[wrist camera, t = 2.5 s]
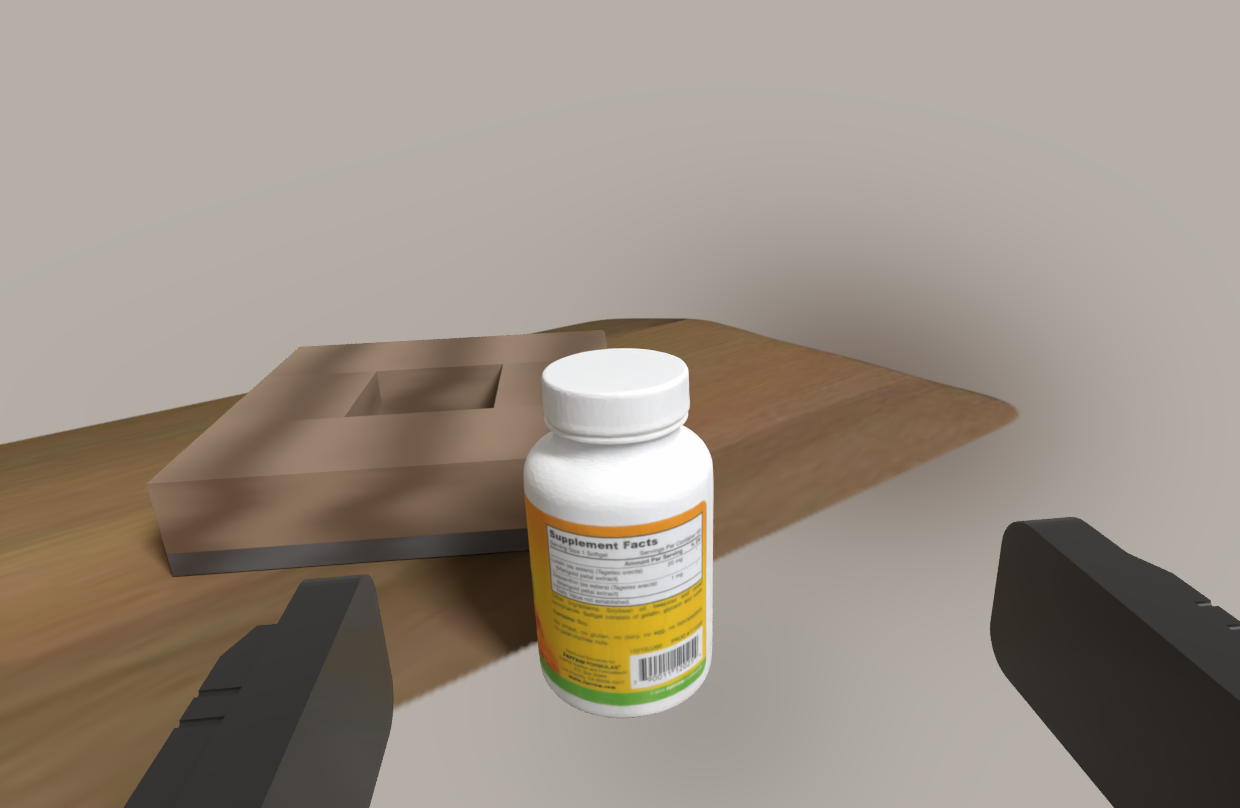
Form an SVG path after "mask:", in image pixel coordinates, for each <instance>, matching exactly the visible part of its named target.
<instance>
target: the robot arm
mask: <svg viewBox="0 0 1240 808" xmlns="http://www.w3.org/2000/svg"><path fill="white" fill-rule="evenodd" d="M990 635H991V641H992V647H993V651H994V654H995V657H996V660H997V662H998V664H999V666H1000V668H1001V670H1002V671H1003V673H1004V674H1005V676H1006V677H1007V678H1008V680H1009V681H1010V682H1011V683H1012V685H1013V686H1014V687H1015V688H1016V689H1017V691H1018V692H1019V693H1020V694H1021V695H1022V697H1023V698H1024V699H1025V700H1026V701H1027V702H1028V704H1029V705H1030V706H1031V708H1032V709H1033V710H1034V711H1035V712H1036V714H1037V715H1038V716H1039V717H1040V718H1041V720H1042V721H1043V722H1044V723H1045V724H1046V726H1047V727H1048V728H1049V729H1050V730H1051V732H1052V733H1053V734H1054V735H1055V736H1056V738H1057V739H1058V740H1059V741H1060V743H1061V744H1062V745H1063V746H1064V748H1065V749H1066V750H1067V751H1068V752H1069V754H1070V755H1071V756H1072V757H1073V758H1074V760H1075V761H1076V762H1077V763H1078V764H1079V766H1080V767H1081V768H1082V769H1083V770H1084V772H1085V773H1086V774H1087V775H1088V776H1089V778H1090V779H1091V780H1092V781H1093V783H1094V784H1095V785H1096V786H1097V787H1098V789H1099V790H1100V791H1101V792H1102V794H1103V795H1104V796H1105V797H1106V798H1107V799H1108V801H1109V802H1110V803H1111V804H1112V806H1113V807H1114V808H1240V621H1239V620H1237V619H1236V618H1234V617H1233V616H1232V615H1230V614H1229V613H1227V612H1226V611H1225V610H1223V609H1222V608H1220V607H1219V606H1212V605H1211V601H1210V600H1209V599H1208V598H1206V597H1205V596H1204V595H1202V594H1200V593H1199V592H1198V591H1197V590H1195V589H1194V588H1192V587H1191V586H1190V585H1188V584H1187V583H1185V582H1184V581H1183V580H1181V579H1180V578H1178V577H1177V576H1176V575H1174V574H1173V573H1170V572H1168V571H1166V570H1164V569H1161V568H1160V567H1157V566H1155V565H1153V564H1151V563H1148V562H1146V561H1144V560H1142V559H1139V558H1137V557H1135V556H1133V555H1131V554H1128V553H1127V552H1125V551H1124V550H1123V549H1121V548H1119V547H1118V546H1117V545H1116V544H1114V543H1113V542H1112V541H1110V540H1109V539H1108V538H1106V537H1105V536H1104V535H1102V534H1101V533H1099V532H1098V531H1097V530H1095V529H1094V528H1093V527H1091V526H1090V525H1089V524H1087V523H1086V522H1084V521H1083V520H1081V519H1078V518H1075V517H1066V518H1053V519H1042V520H1030V521H1018V522H1013V523H1012V524H1010V525H1009V526H1008V527H1007V529H1006V530H1005V532H1004V535H1003V539H1002V545H1001V552H1000V559H999V566H998V573H997V581H996V587H995V594H994V602H993V608H992V615H991V623H990ZM392 717H393V682H392V675H391V669H390V664H389V658H388V653H387V648H386V642H385V637H384V631H383V626H382V621H381V615H380V610H379V604H378V599H377V594H376V589H375V586H374V583H373V580H372V578H371V577H370V576H369V575H366V574H365V575H353V576H342V577H330V578H318V579H306V580H304V581H303V582H301V584H300V585H299V587H298V588H297V590H296V592H295V594H294V595H293V597H292V599H291V601H290V602H289V604H288V606H287V608H286V610H285V611H284V613H283V615H282V617H281V618H280V620H279V622H278V624H272V625H260V626H256V627H255V628H254V629H253V630H252V631H250V632H249V633H248V634H247V635H246V636H244V637H243V638H242V639H241V640H240V641H238V642H237V643H236V644H235V645H234V646H232V647H231V648H230V649H229V650H227V651H226V652H225V653H224V654H223V655H221V656H220V658H219V660H218V661H217V663H216V664H215V666H214V667H213V669H212V670H211V672H210V674H209V675H208V677H207V678H206V680H205V681H204V683H203V685H202V686H201V688H200V689H199V696H198V697H197V698H194V699H193V700H192V702H191V703H190V705H189V706H188V708H187V710H186V711H185V713H184V714H183V716H182V717H181V719H180V726H179V728H174V730H173V731H172V733H171V735H170V736H169V738H168V739H167V741H166V742H165V744H164V745H163V747H162V749H161V750H160V752H159V753H158V755H157V756H156V758H155V759H154V761H153V763H152V764H151V766H150V767H149V769H148V770H147V772H146V774H145V775H144V777H143V778H142V780H141V781H140V783H139V784H138V786H137V788H136V789H135V791H134V792H133V794H132V795H131V797H130V799H129V800H128V802H127V803H126V805H125V806H124V808H369V806H370V803H371V799H372V795H373V792H374V788H375V785H376V781H377V777H378V774H379V770H380V767H381V763H382V759H383V756H384V752H385V749H386V745H387V741H388V738H389V734H390V730H391V724H392Z"/></svg>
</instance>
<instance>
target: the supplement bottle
mask: <svg viewBox="0 0 1240 808" xmlns="http://www.w3.org/2000/svg"><path fill="white" fill-rule="evenodd" d="M542 398H543V410H544V422H545V424H546V426H547V427H548V429H549V430H550V431H551V432H549V433H547V434H546V435H544V436H543V437H542V438H541V439H540V440H539V441H537V442H536V444H535V445H534V446H533V447H532V449H531V450H530V452H529V454H528V456H527V458H526V461H525V464H524V472H523V475H524V495H525V506H526V517H527V527H528V539H529V550H530V562H531V573H532V584H533V595H534V606H535V617H536V627H537V637H538V648H539V655H540V662H541V668H542V671H543V675H544V677H545V679H546V681H547V683H548V684H549V686H550V687H551V689H552V690H553V691H554V692H555V693H556V694H557V695H558V696H559V697H560V698H561V699H562V700H564V701H565V702H567V703H568V704H570V705H571V706H573V707H575V708H577V709H579V710H582V711H585V712H587V713H590V714H595V715H598V716H604V717H612V718H634V717H641V716H647V715H652V714H656V713H659V712H662V711H665V710H668V709H670V708H672V707H674V706H676V705H678V704H680V703H682V702H683V701H685V700H686V699H687V698H689V697H690V696H691V695H692V694H693V693H694V692H696V690H697V689H698V688H699V687H700V686H701V684H702V683H703V681H704V679H705V678H706V676H707V674H708V671H709V668H710V664H711V658H712V632H713V621H712V617H713V603H712V602H713V465H712V459H711V456H710V453H709V451H708V449H707V447H706V445H705V443H704V442H703V441H702V440H701V439H700V438H699V437H698V436H697V435H696V434H695V433H694V432H692V431H691V430H690V429H688V428H686V427H685V426H683V424H684V423H685V422H686V420H687V418H688V410H689V408H690V399H689V374H688V367H687V366H686V364H685V363H684V362H683V361H682V360H681V359H679V358H677V357H675V356H673V355H670V354H667V353H663V352H658V351H653V350H645V349H633V348H622V349H602V350H594V351H587V352H582V353H578V354H574V355H570V356H567V357H564V358H561V359H559V360H557V361H555V362H553V363H551V364H550V365H548V366H547V367H546V368H545V370H544V371H543V373H542Z"/></svg>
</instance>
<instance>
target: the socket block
mask: <svg viewBox="0 0 1240 808" xmlns="http://www.w3.org/2000/svg"><path fill="white" fill-rule="evenodd" d="M602 349H608V346H607V342H606V338H605V334H604V330H595V331H577V332H559V333H541V334H523V335H506V336H489V337H470V338H452V339H436V340H435V339H434V340H417V341H399V342H381V343H363V344H345V345H328V346H311V347H310V346H309V347H299V348H298V349H297V350H296V351H295V352H293V353H292V354H291V355H290V356H289V357H288V358H287V359H286V360H284V361H283V362H282V363H281V364H280V365H279V366H278V367H277V368H276V369H274V370H273V371H272V372H271V373H270V374H269V375H268V376H267V377H265V378H264V379H263V380H262V381H261V382H260V383H259V384H258V385H256V386H255V387H254V388H253V389H252V390H251V391H250V392H249V393H247V394H246V395H245V396H244V397H243V398H242V399H241V400H240V401H238V402H237V403H236V404H235V405H234V406H233V407H232V408H231V409H229V410H228V411H227V412H226V413H225V414H224V415H223V416H222V417H221V418H219V419H218V420H217V421H216V422H215V423H214V424H213V425H212V426H210V427H209V428H208V429H207V430H206V431H205V432H204V433H203V434H201V435H200V436H199V437H198V438H197V439H196V440H195V441H194V442H193V443H191V444H190V445H189V446H188V447H187V448H186V449H185V450H184V451H182V452H181V453H180V454H179V455H178V456H177V457H176V458H175V459H173V460H172V461H171V462H170V463H169V464H168V465H167V466H166V467H164V468H163V469H162V470H161V471H160V472H159V473H158V474H157V475H156V476H154V477H153V478H152V479H151V480H150V481H149V482H148V483H147V488H148V491H149V495H150V498H151V502H152V505H153V509H154V512H155V516H156V519H157V523H158V526H159V530H160V533H161V537H162V540H163V544H164V547H165V551H166V554H167V558H168V561H169V565H170V568H171V572H172V575H173V576H185V575H199V574H212V573H226V572H239V571H253V570H266V569H280V568H293V567H307V566H320V565H334V564H347V563H361V562H374V561H388V560H401V559H415V558H428V557H442V556H455V555H469V554H483V553H496V552H510V551H523V550H529V539H528V527H527V517H526V506H525V495H524V475H523V472H524V464H525V461H526V458H527V456H528V454H529V452H530V450H531V449H532V447H533V446H534V445H535V444H536V442H537V441H539V440H540V439H541V438H542V437H543V436H544V435H546V434H547V433H549V432H551V431H550V430H549V429H548V427H547V426H546V424H545V422H544V410H543V398H542V373H543V371H544V370H545V368H546V367H547V366H548V365H550V364H551V363H553V362H555V361H557V360H559V359H561V358H564V357H567V356H570V355H574V354H578V353H582V352H587V351H594V350H602Z"/></svg>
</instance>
